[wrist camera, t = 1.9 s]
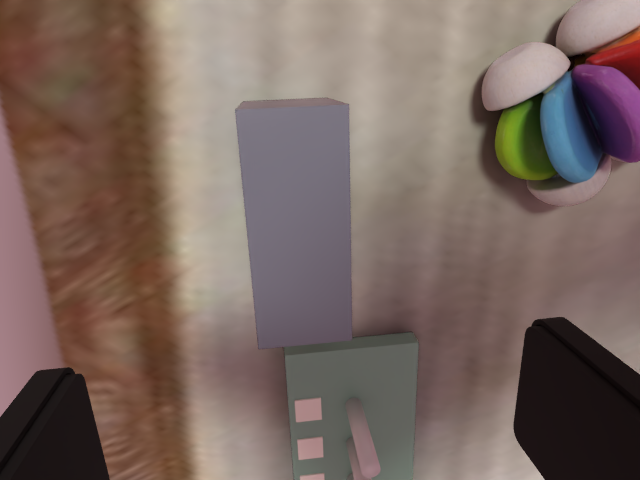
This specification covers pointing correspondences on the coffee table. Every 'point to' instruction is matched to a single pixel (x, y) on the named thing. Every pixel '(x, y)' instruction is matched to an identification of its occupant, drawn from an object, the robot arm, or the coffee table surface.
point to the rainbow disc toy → (570, 102)
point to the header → (353, 408)
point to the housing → (298, 218)
